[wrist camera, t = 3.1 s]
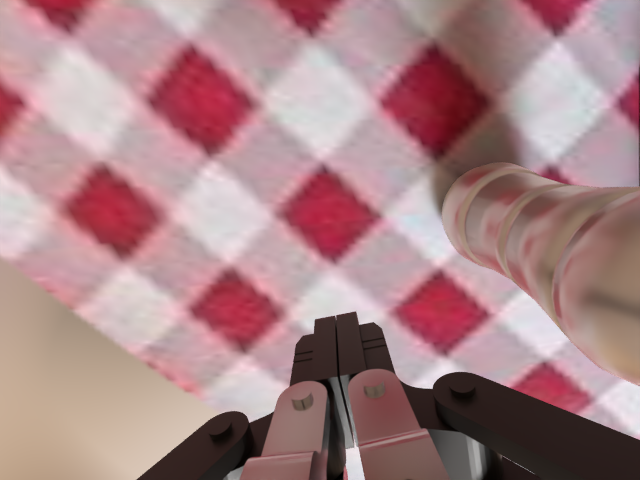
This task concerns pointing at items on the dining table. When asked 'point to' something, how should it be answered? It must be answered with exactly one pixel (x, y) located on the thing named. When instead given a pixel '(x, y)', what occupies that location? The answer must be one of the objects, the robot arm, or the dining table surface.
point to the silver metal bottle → (558, 253)
